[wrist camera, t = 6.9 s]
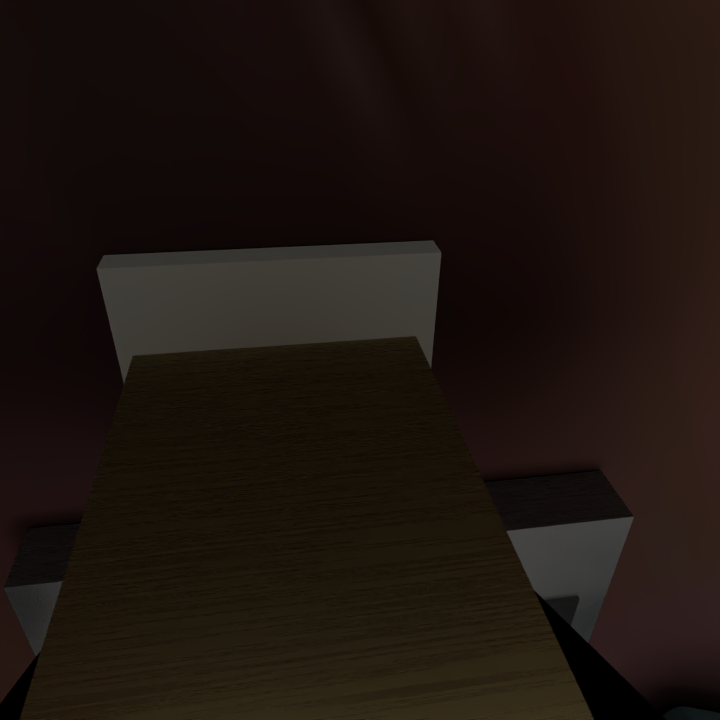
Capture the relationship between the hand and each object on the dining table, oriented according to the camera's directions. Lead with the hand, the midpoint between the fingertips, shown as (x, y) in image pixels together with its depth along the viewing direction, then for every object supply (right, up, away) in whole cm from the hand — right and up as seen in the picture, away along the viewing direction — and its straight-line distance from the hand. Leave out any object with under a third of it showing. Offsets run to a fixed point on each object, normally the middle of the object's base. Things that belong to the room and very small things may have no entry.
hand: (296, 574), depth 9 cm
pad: (-1, +3, +4) cm, 5 cm away
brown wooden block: (0, +1, +2) cm, 3 cm away
